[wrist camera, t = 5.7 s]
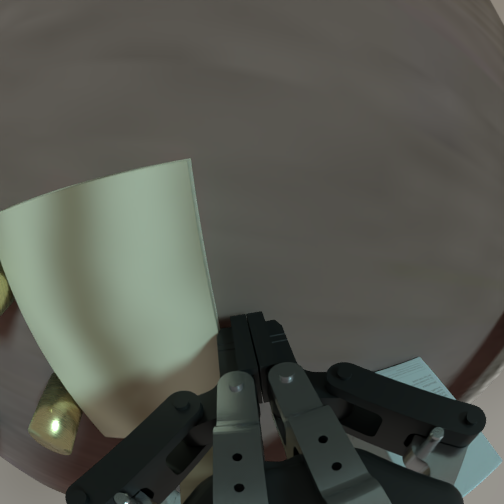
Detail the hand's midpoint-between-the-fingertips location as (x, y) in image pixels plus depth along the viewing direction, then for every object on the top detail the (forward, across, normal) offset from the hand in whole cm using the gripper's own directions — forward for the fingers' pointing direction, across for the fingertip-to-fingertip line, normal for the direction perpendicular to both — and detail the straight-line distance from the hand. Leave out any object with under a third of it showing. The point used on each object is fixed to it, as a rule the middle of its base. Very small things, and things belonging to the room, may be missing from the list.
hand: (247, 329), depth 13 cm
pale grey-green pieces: (+2, +6, 0) cm, 7 cm away
